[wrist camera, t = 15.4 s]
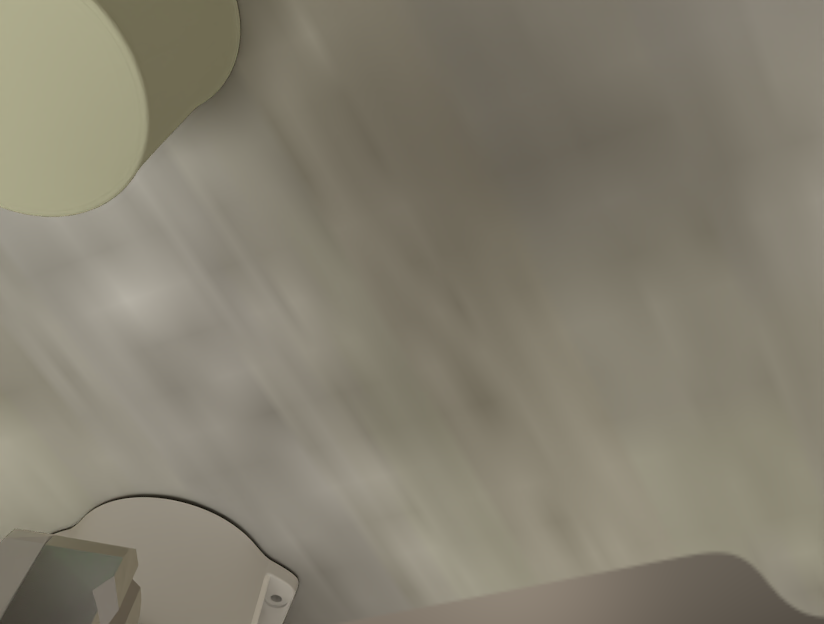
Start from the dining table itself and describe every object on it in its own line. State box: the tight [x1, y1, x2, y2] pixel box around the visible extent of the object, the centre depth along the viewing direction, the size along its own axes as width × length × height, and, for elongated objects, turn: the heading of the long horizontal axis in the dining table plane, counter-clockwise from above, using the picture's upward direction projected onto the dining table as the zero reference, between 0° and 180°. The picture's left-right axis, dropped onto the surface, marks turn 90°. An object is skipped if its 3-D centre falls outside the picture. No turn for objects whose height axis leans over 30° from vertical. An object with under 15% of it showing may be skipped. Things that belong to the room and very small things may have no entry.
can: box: [0, 0, 240, 217], centre depth 30 cm, size 9×9×12 cm
